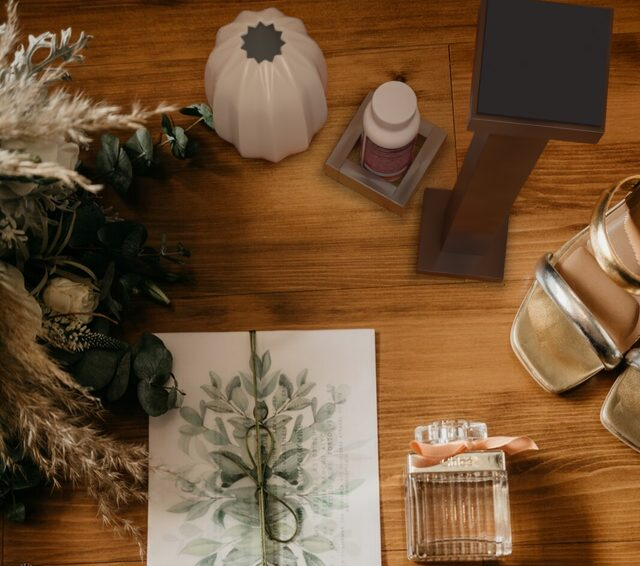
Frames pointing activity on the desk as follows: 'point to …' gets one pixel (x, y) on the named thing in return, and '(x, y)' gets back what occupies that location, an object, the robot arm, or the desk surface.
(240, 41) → the vase
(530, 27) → the mat
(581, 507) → the desk surface
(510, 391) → the desk surface
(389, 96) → the pill bottle
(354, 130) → the stand
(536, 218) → the desk surface
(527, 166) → the plant stand
